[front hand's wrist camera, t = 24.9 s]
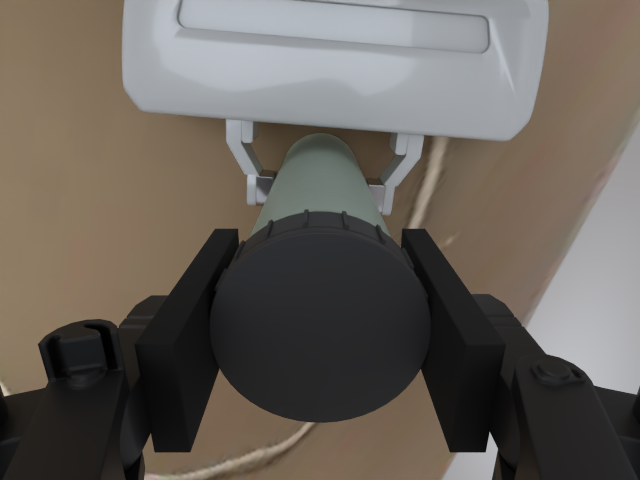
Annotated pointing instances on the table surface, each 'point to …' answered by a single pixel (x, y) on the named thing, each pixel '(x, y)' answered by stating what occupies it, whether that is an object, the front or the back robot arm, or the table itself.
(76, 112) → the table surface
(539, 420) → the front robot arm
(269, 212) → the bottle
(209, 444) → the table surface
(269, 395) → the lid
